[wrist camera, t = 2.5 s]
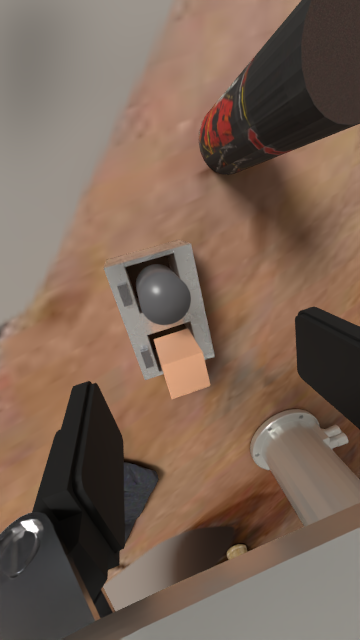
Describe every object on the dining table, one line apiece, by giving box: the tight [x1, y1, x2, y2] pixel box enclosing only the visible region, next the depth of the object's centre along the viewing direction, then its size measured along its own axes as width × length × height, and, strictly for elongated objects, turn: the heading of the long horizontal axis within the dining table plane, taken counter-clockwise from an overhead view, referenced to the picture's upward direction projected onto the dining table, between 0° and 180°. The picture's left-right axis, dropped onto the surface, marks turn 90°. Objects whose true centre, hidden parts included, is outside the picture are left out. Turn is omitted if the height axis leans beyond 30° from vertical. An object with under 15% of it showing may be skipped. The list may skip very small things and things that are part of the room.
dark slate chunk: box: [119, 462, 158, 551], centre depth 38 cm, size 15×22×5 cm
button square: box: [154, 328, 210, 399], centre depth 24 cm, size 4×4×5 cm
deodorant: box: [199, 0, 360, 175], centre depth 18 cm, size 6×6×15 cm
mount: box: [104, 240, 215, 380], centre depth 27 cm, size 8×12×6 cm, turn 14°
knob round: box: [136, 264, 191, 325], centre depth 21 cm, size 4×4×5 cm
